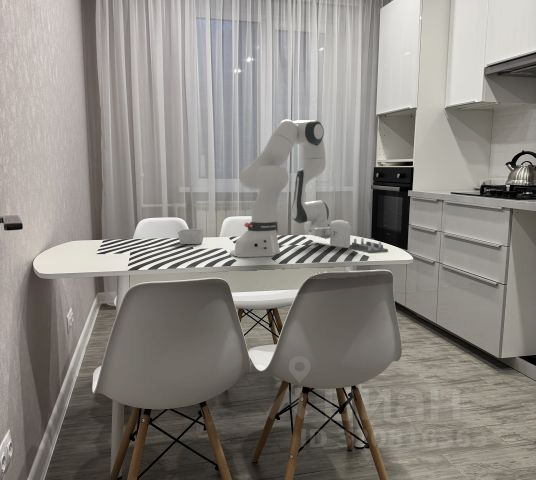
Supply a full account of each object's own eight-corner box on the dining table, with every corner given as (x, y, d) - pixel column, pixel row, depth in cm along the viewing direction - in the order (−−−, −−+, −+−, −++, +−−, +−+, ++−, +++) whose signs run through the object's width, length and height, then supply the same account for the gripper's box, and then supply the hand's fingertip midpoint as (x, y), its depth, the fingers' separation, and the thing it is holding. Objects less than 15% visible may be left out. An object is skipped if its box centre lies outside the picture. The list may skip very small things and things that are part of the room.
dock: (368, 252, 209) (369, 244, 208) (347, 247, 225) (347, 238, 225) (387, 251, 213) (387, 242, 212) (365, 245, 229) (365, 237, 229)
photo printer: (328, 245, 221) (329, 219, 219) (334, 244, 223) (335, 219, 222) (345, 248, 213) (346, 221, 211) (351, 247, 215) (352, 220, 214)
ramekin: (173, 245, 237) (172, 231, 236) (185, 241, 250) (184, 228, 249) (197, 246, 234) (197, 232, 233) (208, 242, 246) (208, 229, 245)
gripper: (306, 223, 225) (319, 226, 213) (343, 222, 233) (358, 225, 220) (306, 236, 226) (319, 240, 214) (342, 234, 234) (358, 238, 221)
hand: (339, 232), depth 217 cm, fingers closed on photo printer, 5 cm apart
